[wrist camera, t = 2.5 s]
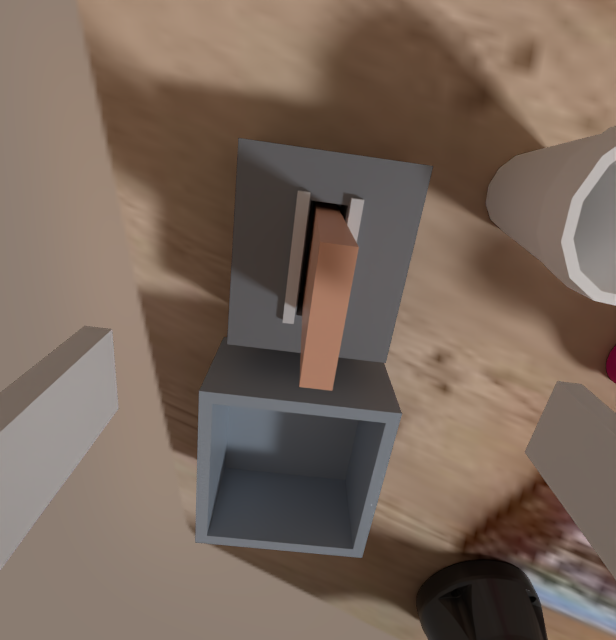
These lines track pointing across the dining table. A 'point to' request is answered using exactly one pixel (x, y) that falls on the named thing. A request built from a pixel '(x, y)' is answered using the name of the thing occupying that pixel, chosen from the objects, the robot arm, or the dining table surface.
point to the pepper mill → (611, 365)
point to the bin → (291, 452)
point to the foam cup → (564, 210)
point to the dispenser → (294, 236)
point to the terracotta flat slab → (325, 295)
